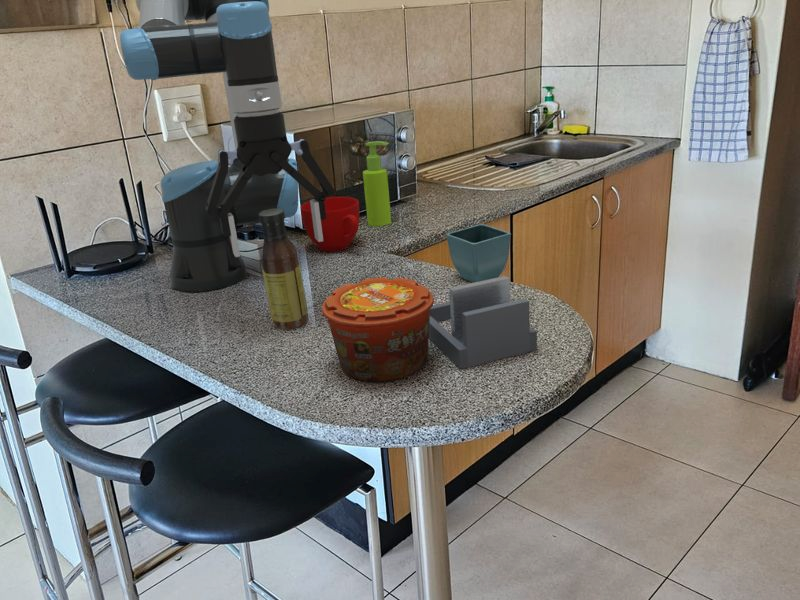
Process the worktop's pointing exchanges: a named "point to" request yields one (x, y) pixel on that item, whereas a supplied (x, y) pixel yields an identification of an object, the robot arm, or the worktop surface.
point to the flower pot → (479, 252)
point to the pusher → (476, 299)
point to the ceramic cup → (334, 223)
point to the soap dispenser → (376, 188)
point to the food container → (380, 328)
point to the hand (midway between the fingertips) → (278, 247)
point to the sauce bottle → (282, 273)
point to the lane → (485, 333)
